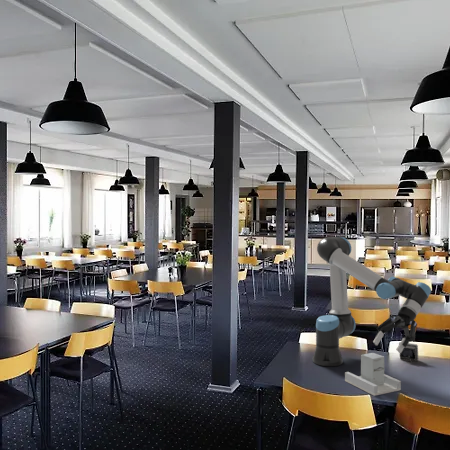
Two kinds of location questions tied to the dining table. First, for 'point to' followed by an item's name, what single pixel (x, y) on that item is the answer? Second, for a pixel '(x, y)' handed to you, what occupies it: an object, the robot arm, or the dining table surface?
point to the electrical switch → (409, 352)
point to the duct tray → (380, 388)
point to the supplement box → (372, 368)
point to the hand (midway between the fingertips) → (386, 347)
